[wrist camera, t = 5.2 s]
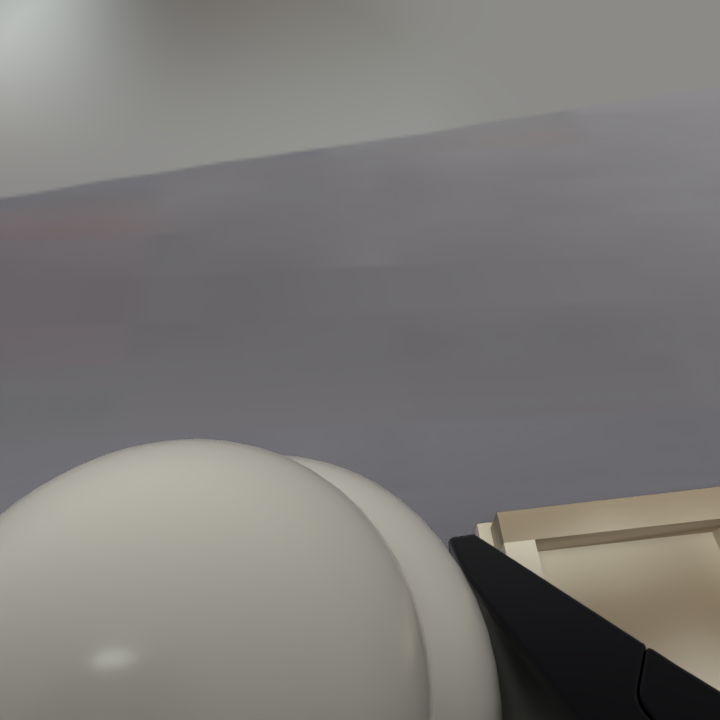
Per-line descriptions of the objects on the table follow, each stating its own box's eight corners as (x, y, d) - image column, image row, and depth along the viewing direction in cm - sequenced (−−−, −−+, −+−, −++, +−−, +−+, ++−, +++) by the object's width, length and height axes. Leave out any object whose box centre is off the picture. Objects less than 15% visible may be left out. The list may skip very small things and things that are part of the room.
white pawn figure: (470, 809, 12) (1055, 2112, 1) (254, 830, 12) (-1351, 2147, 1) (434, 578, 14) (483, 213, 4) (257, 598, 15) (-226, 306, 4)
